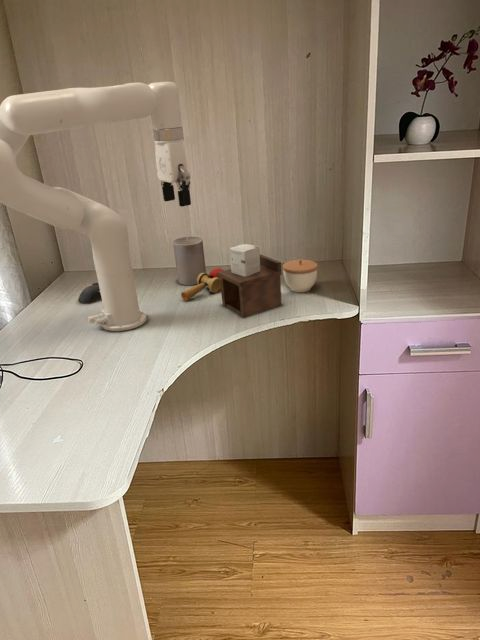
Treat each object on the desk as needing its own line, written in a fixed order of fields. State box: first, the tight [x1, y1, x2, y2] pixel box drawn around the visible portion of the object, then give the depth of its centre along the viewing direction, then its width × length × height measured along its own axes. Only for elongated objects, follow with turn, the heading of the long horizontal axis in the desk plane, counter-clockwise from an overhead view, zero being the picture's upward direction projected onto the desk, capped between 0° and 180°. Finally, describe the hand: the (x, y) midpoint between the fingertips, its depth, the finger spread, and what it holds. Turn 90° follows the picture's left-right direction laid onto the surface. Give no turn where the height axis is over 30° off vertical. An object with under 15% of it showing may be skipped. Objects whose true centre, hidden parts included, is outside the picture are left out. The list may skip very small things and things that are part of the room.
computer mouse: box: [77, 282, 102, 304], centre depth 172 cm, size 12×18×4 cm
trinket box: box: [282, 258, 319, 293], centre depth 163 cm, size 11×11×9 cm
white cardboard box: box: [229, 243, 261, 277], centre depth 149 cm, size 6×6×7 cm
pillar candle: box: [172, 236, 207, 286], centre depth 175 cm, size 10×10×15 cm
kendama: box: [180, 267, 224, 302], centre depth 166 cm, size 8×6×18 cm
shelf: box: [218, 253, 283, 318], centre depth 152 cm, size 14×12×13 cm
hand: (177, 203), depth 144 cm, fingers open, 9 cm apart
